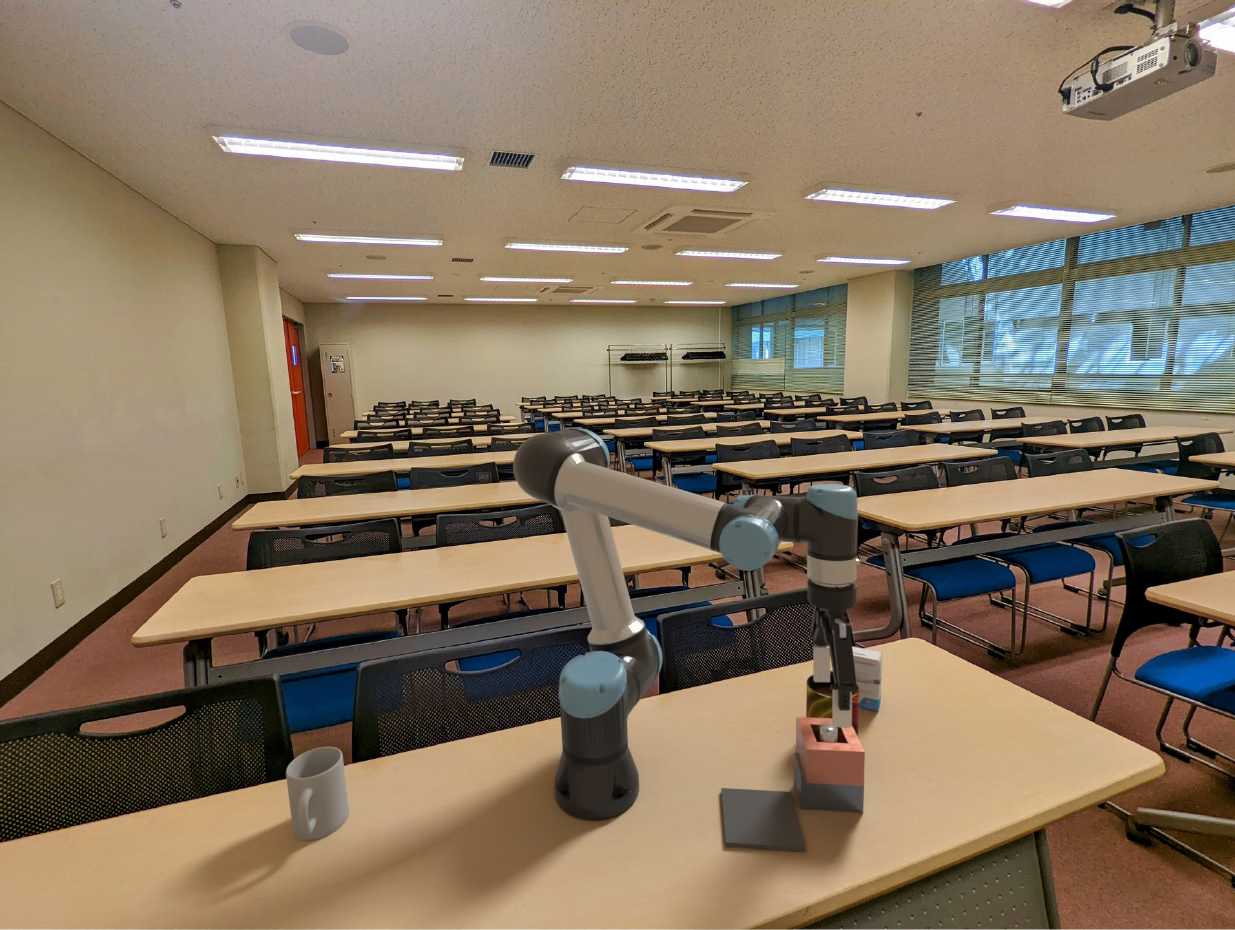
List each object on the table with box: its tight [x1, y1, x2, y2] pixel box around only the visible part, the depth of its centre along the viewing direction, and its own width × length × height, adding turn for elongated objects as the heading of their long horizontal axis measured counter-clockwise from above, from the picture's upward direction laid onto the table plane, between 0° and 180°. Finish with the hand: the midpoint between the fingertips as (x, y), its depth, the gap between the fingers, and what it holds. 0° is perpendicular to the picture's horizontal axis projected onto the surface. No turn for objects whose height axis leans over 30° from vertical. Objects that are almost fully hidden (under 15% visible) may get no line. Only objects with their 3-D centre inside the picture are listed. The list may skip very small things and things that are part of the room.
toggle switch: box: [793, 723, 865, 814], centre depth 96 cm, size 10×6×13 cm, turn 83°
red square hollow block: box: [795, 716, 866, 787], centre depth 96 cm, size 9×9×6 cm
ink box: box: [852, 646, 883, 712], centre depth 125 cm, size 8×5×12 cm, turn 58°
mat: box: [720, 787, 807, 853], centre depth 93 cm, size 12×12×1 cm
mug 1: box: [285, 746, 350, 841], centre depth 93 cm, size 12×8×11 cm
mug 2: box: [805, 670, 860, 738], centre depth 114 cm, size 10×14×12 cm
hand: (831, 702), depth 94 cm, fingers open, 13 cm apart
